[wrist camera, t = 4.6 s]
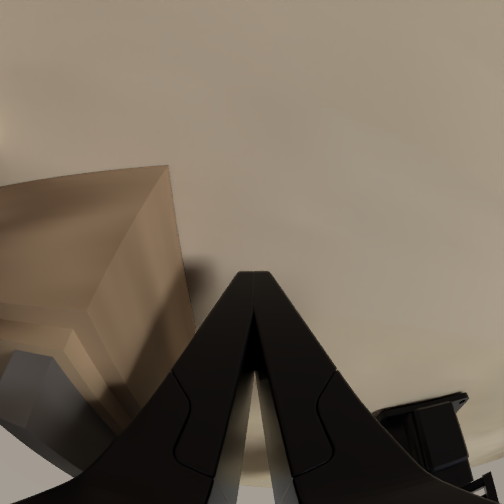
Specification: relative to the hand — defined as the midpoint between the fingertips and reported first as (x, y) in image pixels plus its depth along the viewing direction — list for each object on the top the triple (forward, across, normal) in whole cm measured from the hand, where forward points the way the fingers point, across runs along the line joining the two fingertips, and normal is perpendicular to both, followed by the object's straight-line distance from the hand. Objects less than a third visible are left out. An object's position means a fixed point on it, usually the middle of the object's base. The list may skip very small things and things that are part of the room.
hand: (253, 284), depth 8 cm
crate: (+2, +7, 0) cm, 7 cm away
